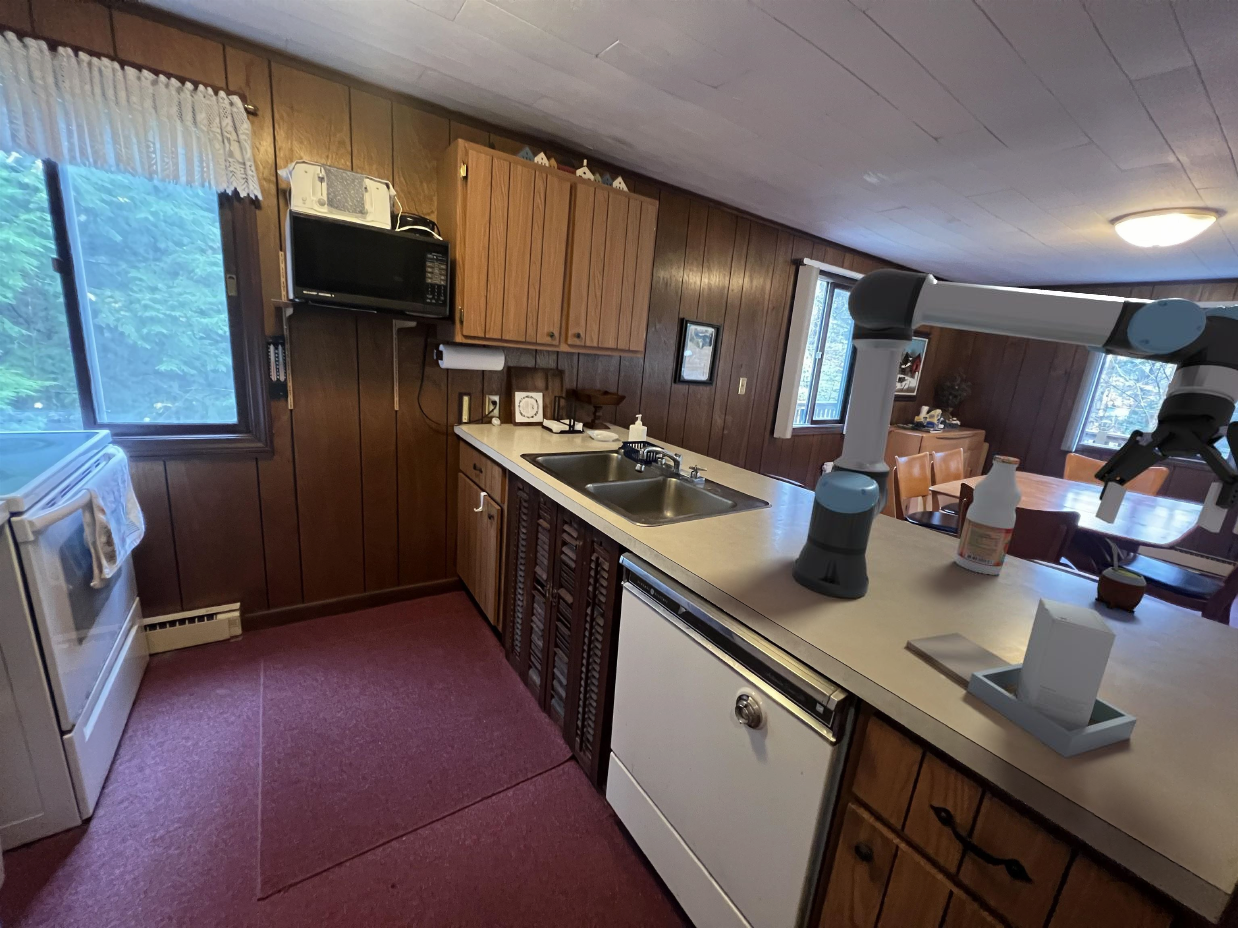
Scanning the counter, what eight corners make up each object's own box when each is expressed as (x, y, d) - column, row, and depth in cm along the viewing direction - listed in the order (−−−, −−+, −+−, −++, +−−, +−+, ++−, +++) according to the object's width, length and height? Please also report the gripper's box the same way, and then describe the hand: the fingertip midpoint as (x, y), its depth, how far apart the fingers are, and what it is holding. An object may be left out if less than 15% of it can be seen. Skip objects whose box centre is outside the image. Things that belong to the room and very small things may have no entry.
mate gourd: (1141, 610, 104) (1165, 545, 101) (1130, 618, 100) (1154, 550, 97) (1095, 594, 110) (1116, 532, 107) (1083, 601, 106) (1104, 537, 103)
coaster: (906, 645, 83) (907, 640, 83) (956, 637, 87) (957, 632, 87) (969, 688, 73) (971, 682, 72) (1022, 677, 77) (1024, 671, 76)
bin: (966, 690, 72) (972, 672, 72) (1027, 677, 77) (1032, 660, 76) (1065, 757, 61) (1072, 737, 60) (1130, 737, 65) (1137, 718, 65)
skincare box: (1083, 742, 64) (1120, 637, 60) (1019, 719, 67) (1052, 618, 63) (1067, 706, 71) (1100, 610, 67) (1010, 687, 74) (1039, 594, 70)
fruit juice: (946, 557, 125) (973, 451, 119) (985, 561, 125) (1014, 455, 118) (968, 573, 116) (998, 459, 110) (1009, 578, 115) (1043, 464, 109)
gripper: (1342, 398, 64) (1287, 544, 63) (1130, 421, 89) (1088, 526, 88) (1295, 373, 64) (1239, 520, 63) (1095, 403, 89) (1052, 508, 87)
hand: (1151, 524), depth 75 cm, fingers open, 13 cm apart
